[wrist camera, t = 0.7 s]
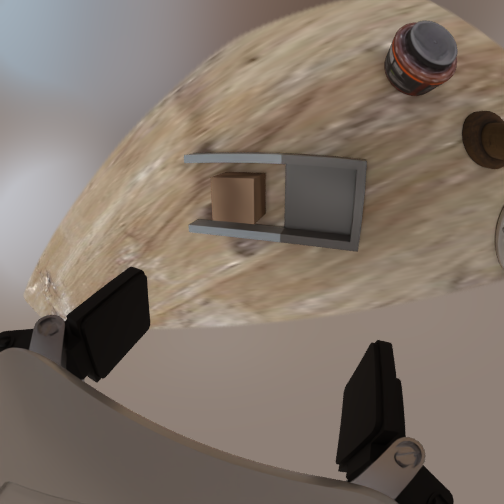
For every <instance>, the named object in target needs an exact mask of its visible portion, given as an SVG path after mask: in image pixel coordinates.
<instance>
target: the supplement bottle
mask: <svg viewBox="0 0 504 504" xmlns="http://www.w3.org/2000/svg"><path fill="white" fill-rule="evenodd" d="M456 67H457V45H456V42H455V40H454V38H453V36H452V35H451V34H450V33H449V32H448V31H447V30H446V29H445V28H444V27H443V26H441V25H439V24H437V23H435V22H432V21H420V22H417V23H409V24H406V25H404V26H403V27H401V28H400V29H399V30H398V31H397V33H396V35H395V37H394V39H393V42H392V44H391V47H390V49H389V52H388V54H387V56H386V60H385V73H386V75H387V77H388V79H389V81H390V82H391V84H392V85H393V86H394V87H395V88H397V89H398V90H399V91H401V92H403V93H405V94H408V95H413V96H418V95H422V94H425V93H427V92H429V91H431V90H432V89H434V88H436V87H437V86H439V85H441V84H442V83H444V82H446V81H447V80H449V79H450V78H451V77H452V76H453V74H454V73H455V70H456Z"/></svg>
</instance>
